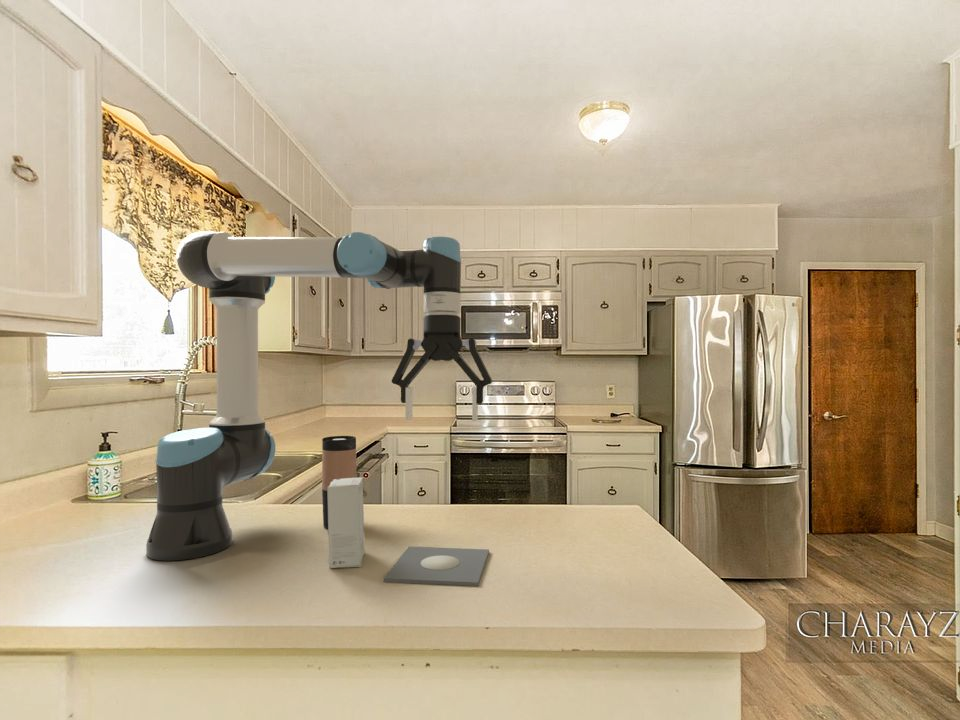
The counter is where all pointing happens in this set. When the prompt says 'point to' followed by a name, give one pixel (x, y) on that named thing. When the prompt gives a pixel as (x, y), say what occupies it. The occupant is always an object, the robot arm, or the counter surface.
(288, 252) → the robot arm
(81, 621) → the counter surface
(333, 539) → the skincare box
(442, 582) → the mat
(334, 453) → the travel mug
